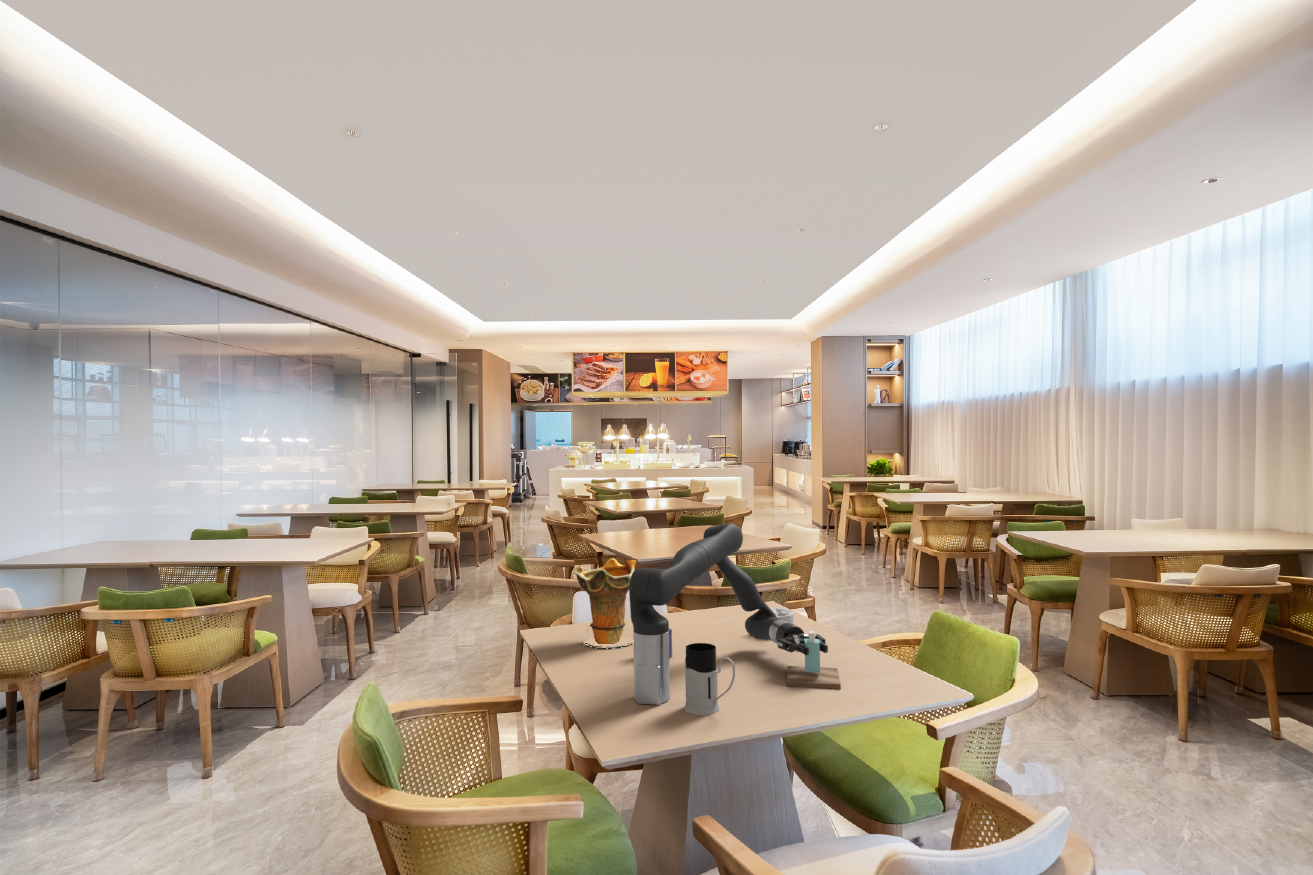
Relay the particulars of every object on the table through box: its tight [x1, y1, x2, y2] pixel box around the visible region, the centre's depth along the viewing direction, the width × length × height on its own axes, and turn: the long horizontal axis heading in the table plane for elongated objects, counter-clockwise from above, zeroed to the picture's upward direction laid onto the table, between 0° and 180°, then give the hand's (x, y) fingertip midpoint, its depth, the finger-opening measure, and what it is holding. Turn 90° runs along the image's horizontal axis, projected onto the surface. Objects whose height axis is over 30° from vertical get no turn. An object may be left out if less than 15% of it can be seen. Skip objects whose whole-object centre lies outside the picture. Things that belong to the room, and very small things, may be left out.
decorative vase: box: [573, 557, 637, 648], centre depth 224 cm, size 21×23×28 cm
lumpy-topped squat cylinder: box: [768, 606, 795, 625], centre depth 232 cm, size 10×13×9 cm
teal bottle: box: [804, 630, 821, 672], centre depth 183 cm, size 4×4×10 cm
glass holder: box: [683, 642, 736, 716], centre depth 160 cm, size 9×14×15 cm, turn 51°
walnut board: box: [786, 665, 842, 690], centre depth 182 cm, size 14×14×1 cm
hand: (817, 650), depth 180 cm, fingers closed on teal bottle, 5 cm apart
